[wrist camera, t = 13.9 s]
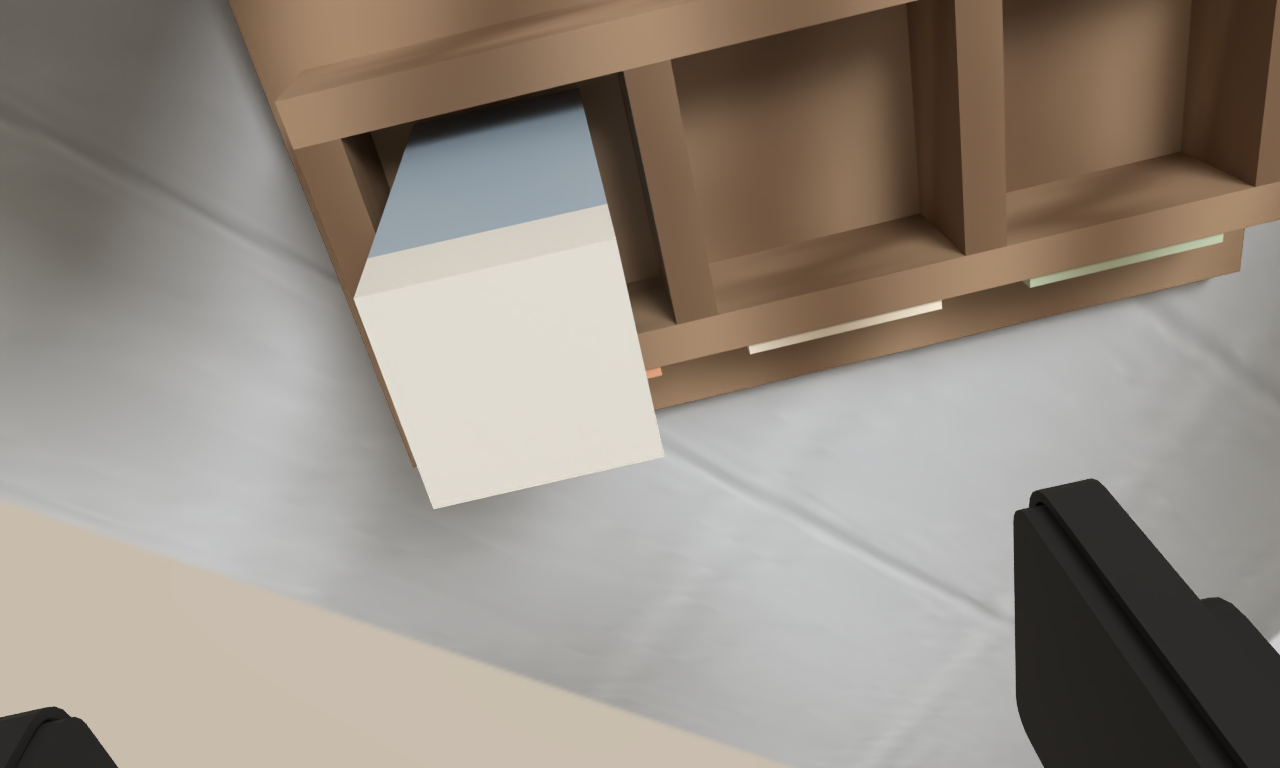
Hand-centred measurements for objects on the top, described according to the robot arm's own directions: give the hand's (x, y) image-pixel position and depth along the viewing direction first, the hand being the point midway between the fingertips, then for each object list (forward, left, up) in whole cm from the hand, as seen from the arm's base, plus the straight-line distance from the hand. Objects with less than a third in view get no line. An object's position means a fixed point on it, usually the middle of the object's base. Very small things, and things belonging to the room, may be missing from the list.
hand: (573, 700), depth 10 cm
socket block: (-6, 0, -18) cm, 19 cm away
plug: (+1, 0, -17) cm, 17 cm away
